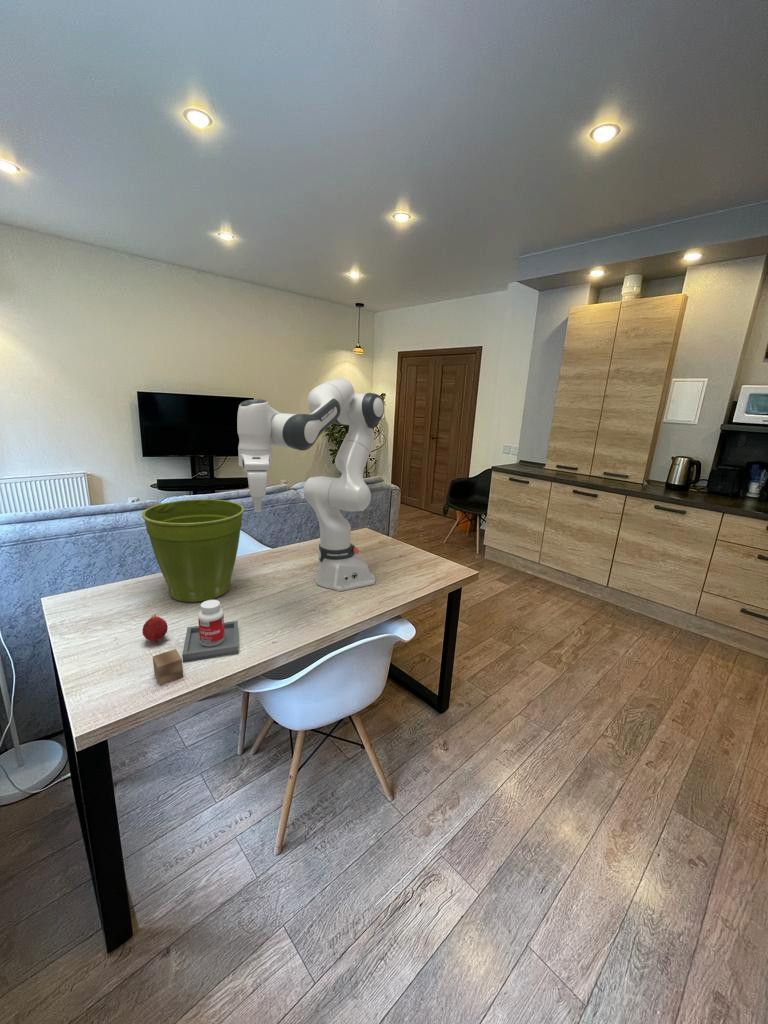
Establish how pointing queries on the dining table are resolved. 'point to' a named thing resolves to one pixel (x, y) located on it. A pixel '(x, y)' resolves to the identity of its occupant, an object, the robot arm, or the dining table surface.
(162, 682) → the walnut block
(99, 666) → the dining table surface
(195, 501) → the plant pot
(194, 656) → the tray
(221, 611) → the pill bottle
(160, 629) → the red round piece
